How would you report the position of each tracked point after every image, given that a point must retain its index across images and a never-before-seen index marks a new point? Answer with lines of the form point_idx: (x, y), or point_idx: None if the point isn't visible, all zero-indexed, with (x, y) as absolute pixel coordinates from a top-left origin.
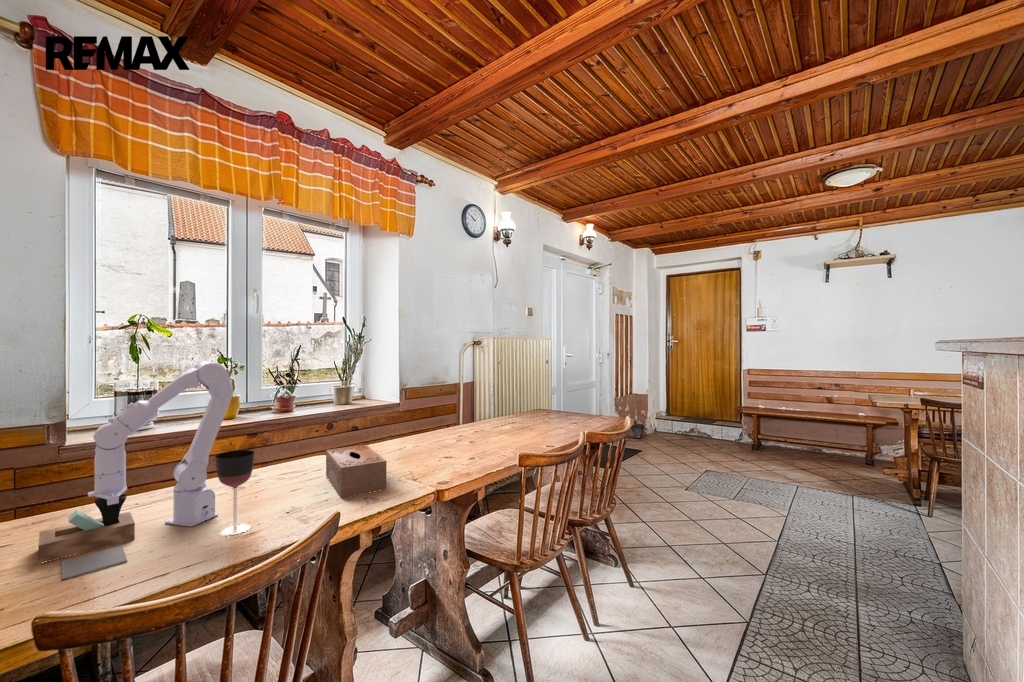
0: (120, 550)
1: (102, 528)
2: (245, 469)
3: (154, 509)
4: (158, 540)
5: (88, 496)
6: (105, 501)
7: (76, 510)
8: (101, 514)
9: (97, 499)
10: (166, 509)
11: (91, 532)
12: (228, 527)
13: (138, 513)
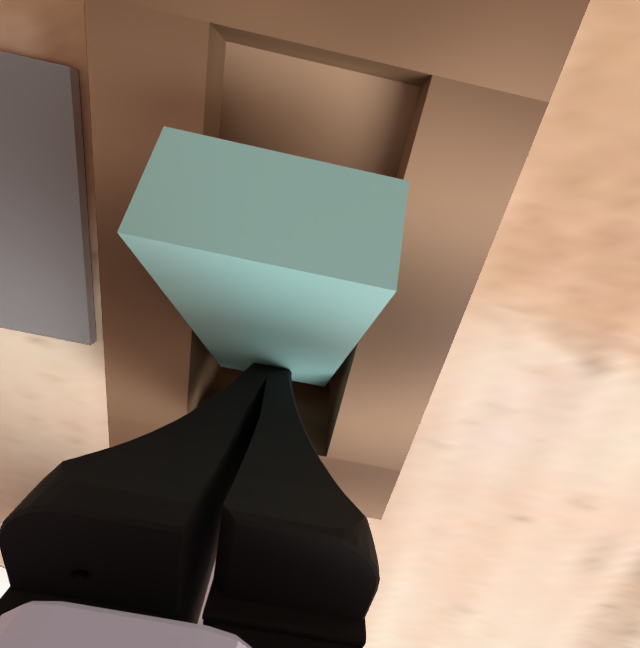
0: (19, 319)
1: (150, 339)
2: None
3: (527, 559)
4: (66, 443)
5: (20, 610)
6: (11, 577)
7: (373, 281)
8: (191, 411)
9: (299, 559)
10: (467, 577)
11: (113, 270)
12: (4, 590)
13: (551, 516)
